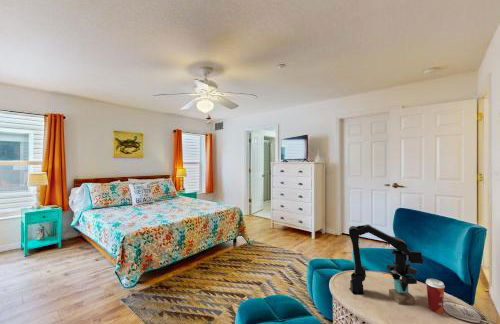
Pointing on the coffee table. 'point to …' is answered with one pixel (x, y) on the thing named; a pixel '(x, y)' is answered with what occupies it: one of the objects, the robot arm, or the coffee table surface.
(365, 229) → the robot arm
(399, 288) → the teal cube
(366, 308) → the coffee table surface
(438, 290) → the coffee cup
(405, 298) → the walnut block
